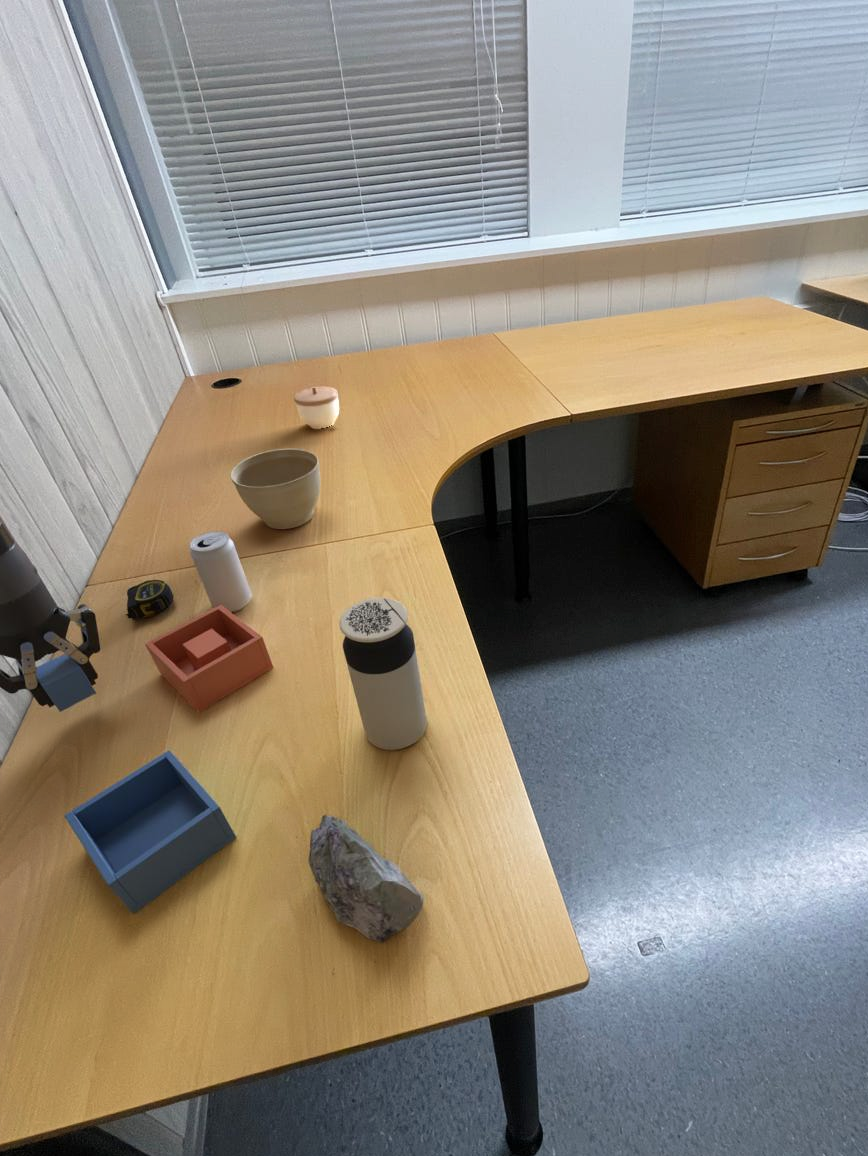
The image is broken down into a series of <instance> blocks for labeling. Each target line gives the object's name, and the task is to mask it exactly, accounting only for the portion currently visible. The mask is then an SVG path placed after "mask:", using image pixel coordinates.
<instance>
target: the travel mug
mask: <svg viewBox="0 0 868 1156" xmlns="http://www.w3.org/2000/svg"><path fill="white" fill-rule="evenodd" d="M408 620H409V614H408V610H407V608H406V606H404V605H403V604H402V603H401V602H400V601H397V600H395V599H392V598H387V597H372V598H366V599H362V600H360V601H357V602H356V603H353V604H352V605H350V606H348V608H347V609H346V610H345V611H344V612H342V615H341V616H340V619H339V622H338V623H339V630H340V631H341V633H342V634H343V635H344V638H343V641H342V650H343V653H344V658H345V661H346V665H347V669H348V673H349V678H350V681H351V685H352V688H353V689H352V690H353V692H354V696H355V700H356V704H357V708H358V711H359V716H360V719H361V723H362V727H363V731H364V735H365V738H366V739H367V740H368V742H369V743H370V744H371V745H373V746H374V747H377V748H379V749H383V750H387V751H394V750H395V751H397V750H401V749H404V748H407V747H409V746H412V745H413V744H415V743H417V742H418V741H419V740H420V739H421V738H422V737H423V736H424V734H425V732H426V730H427V726H428V719H427V712H426V707H425V701H424V700H425V699H424V694H423V693H424V692H423V688H422V682H421V674H420V668H419V662H418V656H417V655H418V654H417V650H416V649H417V648H416V642H415V638H414V637H415V636H414V632H413V630H412V628H411V626H410V625H408V624H407V622H408Z"/></svg>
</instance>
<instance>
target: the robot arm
mask: <svg viewBox="0 0 868 1156" xmlns="http://www.w3.org/2000/svg"><path fill="white" fill-rule="evenodd" d="M48 589H49V588H47V586H46V584H45V583H44V581H43V579H42V577H41V576H40V574H39V572H38V569H37V567H36V566H35V565H34V564H33V563H32V561H31V559H30V558H29V556H28V554H27V553H26V552H25V550H24V549H23V548H22V547H21V546H20V544H19V543H18V542H17V540H16V539H15V537H14V536H13V534H12V533H11V531H10V530H9V528H8V526H7V524H6V523H5V521H4V519H3V517H2V516H1V515H0V656H3V657H6V658H10V659H13V660H15V663H16V666H17V671H18V675H13V676H12V675H10V674H9V673H7V672H6V671H4V670H3V669H1V668H0V689H2V690H3V691H5V692H6V693H8V694H11V695H13V694H16V693H18V692H19V691H21V690H27V691H29V692H30V694H31V695H32V696H33V698H34V700H35V701H36V702H37V703H38V705H39V706H41V707H45V706H48V708H49V709H50V708H52V707H54V706H55V704H54V703H53V701H52V700H51V699H50V697H49V696H48V694H47V693H46V691H45V690H44V688H43V687H42V686H41V684H40V683H39V681H38V680H37V677H36V672H37V671H36V667H37V666H36V662H38V661H40V660H42V659H43V658H45V657H46V656H47V655H52V654H55V653H57V652H59V651H60V652H61V653H63V654H66V655H67V656H70V657H71V658H72V659H74V660H75V662H76V663H77V664H78V665H79V666H80V668H81V669H82V671H83V672H84V674H85V675H86V677H87V679H88V680H89V682H90V684H91V685H92V687H94V685H96V684H97V682H96V681H95V680H97V679H98V678H99V675H98V673H97V671H96V669H95V668H94V666H93V664H92V663H91V661H90V659H91V657H92V656H93V655H94V654H98V653H100V651H101V643H100V636H99V629H98V622H97V615H96V613H95V612H94V611H93V610H92V609H91V608H90V607H89V606H88V605H87V604H85V603H81V604H79V605H78V606H77V608H76V609H70V610H67V611H66V610H65V609H64V608H61V607H60V606H58V604H57V602H56V601H55V599H54V597H53V595H52V594H51V592H50V591H49V590H48ZM71 622H74V623H75V625H76V626H78V627H79V628H80V633H81V639H82V643H81V644H80V645H79V646H78V645H76V644H75V643H74V642H73V641H72V640H70V639H68V637H67V635H68V630H69V627H70V623H71Z"/></svg>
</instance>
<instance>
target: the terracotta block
mask: <svg viewBox="0 0 868 1156" xmlns="http://www.w3.org/2000/svg"><path fill="white" fill-rule="evenodd" d="M182 645H183V647H184V649H185V651H186V653H187V655H188V657H189V659H190V661H191V664H192V666H193V668H194V669H195V670H198V669H200V668H202V667H203V666H205V665H207V664H209V663H211V662H212V661H214V660H216V659H218V658H219V657H221V656H223V655H225V654H226V653H228V652H230V651H231V648H230V646H229V644H228V641H226V640H225V639H224V638H223V637H221V636H220V635H219V634H218V633H216V632H215V631H214V630H213V629H210V630H208V631H206V632H204V633H202V634H201V635H199V636H197V637H195V638H193V639H191V640H189V641H188V642H186V643H184V644H182Z"/></svg>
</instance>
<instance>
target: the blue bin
mask: <svg viewBox="0 0 868 1156" xmlns="http://www.w3.org/2000/svg"><path fill="white" fill-rule="evenodd" d="M63 817H64V818H65V819H66V821H67V823H68V825H69V826H70V828H71V829H72V830H73V832H74V834H75V835H76V837H77V839H78V840H79V842H80V844H81V845H82V847H83V848H84V849H85V851H86V853H87V854H88V856H89V858H90V859H91V861H92V862H93V864H94V865H95V867H96V869H97V871H98V872H99V874H100V875H101V877H102V879H103V881H104V882H105V883H106V885H107V887H109V889H110V890H111V891H112V892H113V893H114V894H115V895H116V896H117V898H118V899H119V900H120V901H121V902H122V904H124V906H125V907H126V908H127V909H128V910H129V911H130V913H131V914H132V915H134V914H136V913H138V912H139V911H140V910H141V909H143V908H145V907H146V906H147V905H148V904H149V903H151V902H152V901H153V900H155V899H156V898H157V897H159V896H161V895H162V894H163V893H164V892H166V891H167V890H168V889H169V888H171V887H173V885H175V884H176V883H177V882H179V881H180V880H182V879H183V878H185V876H187V875H188V874H189V873H191V872H192V871H193V870H195V869H196V868H198V867H199V866H200V865H202V864H203V863H204V862H206V861H207V860H208V859H210V858H211V857H212V856H214V855H215V854H216V853H218V852H219V851H221V850H222V849H223V848H224V847H226V846H227V845H228V844H230V843H231V842H233V841H234V840H235V839H237V836H236V834H235V832H234V830H233V828H232V826H231V825H230V823H229V821H228V819H227V817H226V816H225V814H224V812H223V810H222V809H221V807H220V805H219V804H218V803H217V802H216V801H215V800H214V798H213V797H212V796H211V795H210V794H209V793H208V791H206V790H205V788H204V787H203V786H202V785H201V784H200V782H198V780H197V779H196V778H195V777H194V776H193V775H192V774H191V772H190V771H189V770H188V768H186V767H185V766H184V764H183V763H182V762H181V761H180V760H179V759H178V757H177V756H176V755H175V754H174V752H172V751H171V749H168V750H166V751H165V752H163V753H162V754H160V755H159V756H157V757H155V758H154V759H152V760H151V761H148V762H147V763H146V764H144V765H142V766H141V767H138V768H137V769H136V770H134V771H133V772H131V773H129V774H128V775H126V776H125V777H123V778H121V779H120V780H118V781H117V782H115V783H113V784H111V785H110V786H108V787H107V788H106V789H104V790H102V791H100V792H99V793H97V794H96V795H94V796H93V797H91V798H90V799H88V800H86V801H84V802H83V803H81V804H80V805H78V806H76V807H75V808H73V809H72V810H70V811H69V812H67V813H65V814H64V815H63Z"/></svg>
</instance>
